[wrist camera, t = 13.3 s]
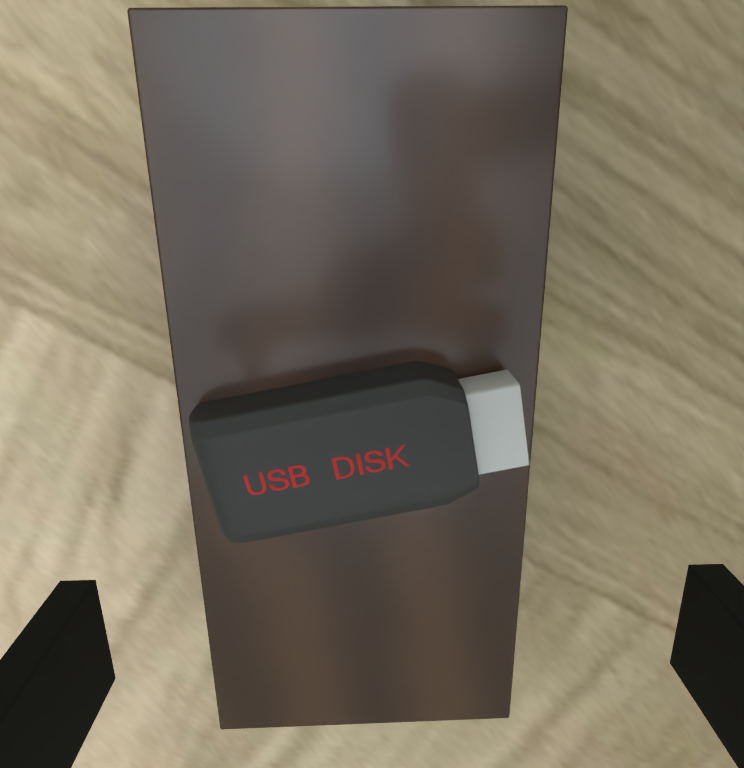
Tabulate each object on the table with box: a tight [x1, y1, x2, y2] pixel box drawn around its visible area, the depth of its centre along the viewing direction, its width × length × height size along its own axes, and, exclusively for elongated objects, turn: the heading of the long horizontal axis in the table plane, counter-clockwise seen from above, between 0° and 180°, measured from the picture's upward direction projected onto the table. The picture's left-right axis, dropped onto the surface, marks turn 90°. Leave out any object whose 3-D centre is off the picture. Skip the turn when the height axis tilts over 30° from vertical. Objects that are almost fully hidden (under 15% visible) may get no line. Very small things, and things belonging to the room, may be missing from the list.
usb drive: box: [188, 361, 529, 543], centre depth 22 cm, size 5×12×3 cm, turn 101°
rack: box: [128, 6, 568, 729], centre depth 27 cm, size 14×30×8 cm, turn 1°
